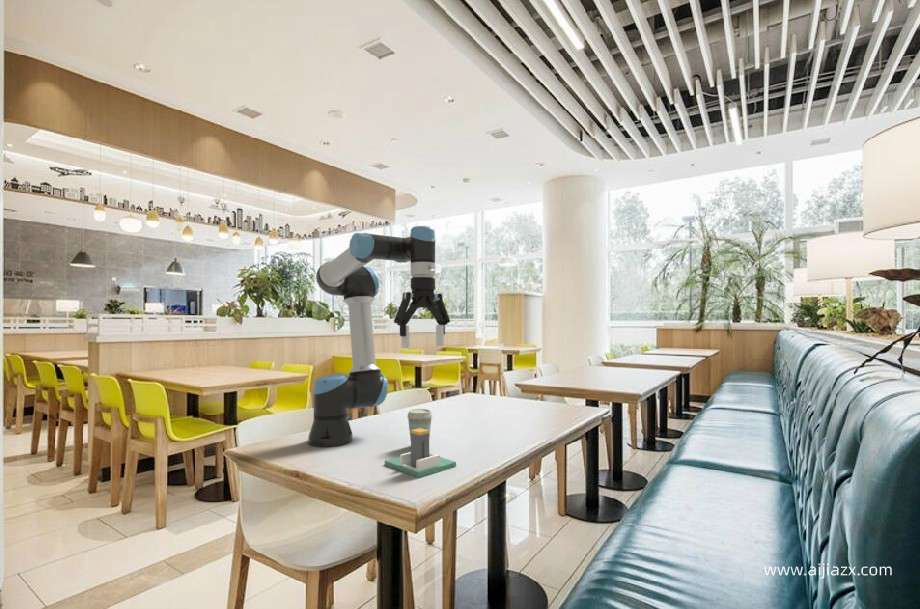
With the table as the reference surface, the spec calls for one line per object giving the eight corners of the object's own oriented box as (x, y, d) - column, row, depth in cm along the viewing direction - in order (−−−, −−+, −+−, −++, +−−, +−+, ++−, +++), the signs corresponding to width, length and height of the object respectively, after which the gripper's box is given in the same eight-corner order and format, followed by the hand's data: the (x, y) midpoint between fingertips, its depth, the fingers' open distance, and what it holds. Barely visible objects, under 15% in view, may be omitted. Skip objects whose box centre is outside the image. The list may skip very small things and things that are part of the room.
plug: (410, 465, 134) (410, 430, 134) (420, 462, 136) (420, 428, 136) (421, 468, 130) (421, 432, 131) (430, 466, 133) (430, 430, 133)
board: (384, 464, 138) (384, 450, 138) (421, 455, 148) (421, 441, 148) (418, 477, 127) (418, 462, 127) (456, 466, 137) (456, 451, 137)
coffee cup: (428, 450, 153) (428, 413, 153) (403, 449, 155) (403, 413, 155) (435, 443, 161) (435, 409, 162) (411, 442, 163) (411, 408, 163)
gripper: (397, 273, 131) (397, 349, 131) (460, 278, 149) (461, 345, 148) (381, 275, 137) (382, 348, 136) (444, 280, 154) (445, 344, 153)
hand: (423, 346), depth 142 cm, fingers open, 13 cm apart
